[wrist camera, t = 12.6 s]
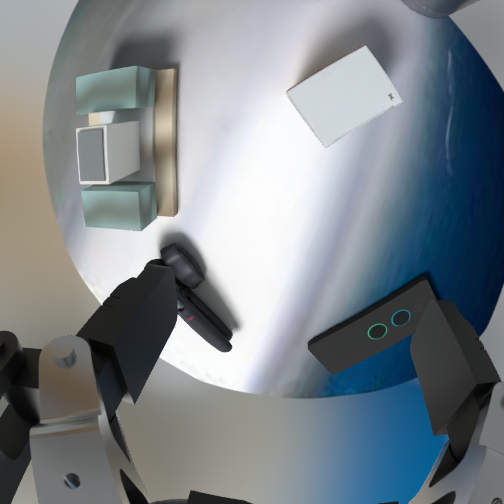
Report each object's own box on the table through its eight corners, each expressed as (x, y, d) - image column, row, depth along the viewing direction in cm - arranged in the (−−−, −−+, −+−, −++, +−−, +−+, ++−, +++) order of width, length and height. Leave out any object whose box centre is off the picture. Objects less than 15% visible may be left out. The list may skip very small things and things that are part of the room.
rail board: (94, 81, 31) (64, 80, 25) (177, 69, 30) (154, 63, 24) (100, 209, 39) (74, 225, 33) (177, 213, 38) (157, 232, 32)
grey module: (113, 169, 34) (78, 184, 28) (111, 122, 31) (74, 129, 25) (140, 169, 34) (107, 185, 27) (139, 120, 31) (104, 125, 25)
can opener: (144, 255, 41) (126, 275, 36) (181, 234, 39) (165, 253, 34) (212, 344, 47) (203, 370, 42) (249, 332, 45) (244, 358, 40)
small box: (346, 62, 27) (367, 42, 18) (374, 103, 29) (406, 101, 19) (286, 97, 30) (283, 90, 21) (316, 138, 31) (325, 149, 22)
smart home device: (443, 315, 38) (333, 376, 45) (440, 309, 39) (332, 368, 47) (426, 277, 35) (305, 347, 43) (422, 271, 37) (305, 339, 44)
